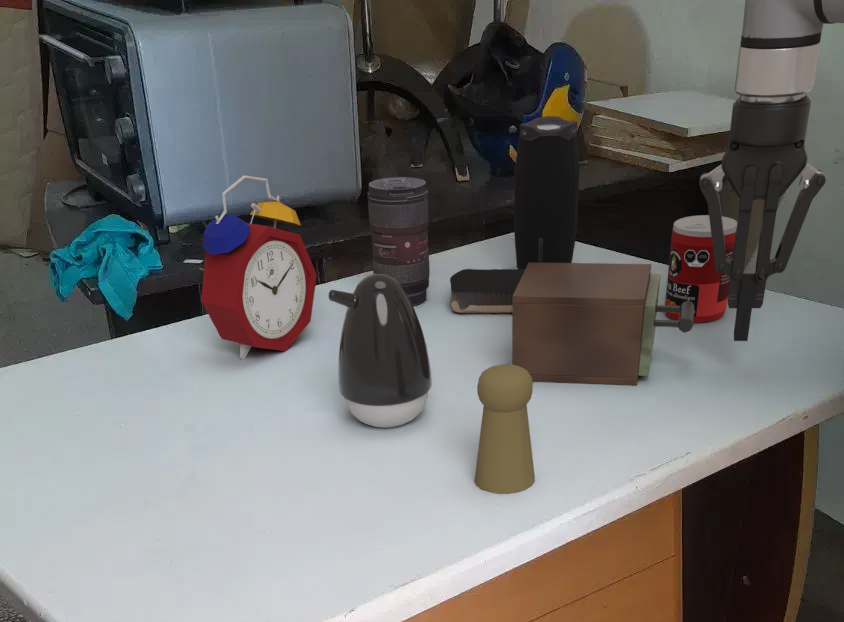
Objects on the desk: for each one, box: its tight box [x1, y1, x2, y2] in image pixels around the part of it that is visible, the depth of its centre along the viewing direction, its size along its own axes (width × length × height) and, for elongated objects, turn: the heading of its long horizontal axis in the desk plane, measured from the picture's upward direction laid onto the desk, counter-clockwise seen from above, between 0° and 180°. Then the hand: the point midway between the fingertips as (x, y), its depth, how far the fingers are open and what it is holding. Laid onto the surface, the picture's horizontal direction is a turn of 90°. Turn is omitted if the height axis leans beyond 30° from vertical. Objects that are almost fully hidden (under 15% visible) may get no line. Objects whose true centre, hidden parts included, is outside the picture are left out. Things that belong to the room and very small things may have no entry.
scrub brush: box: [449, 268, 525, 314], centre depth 139 cm, size 16×8×4 cm, turn 80°
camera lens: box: [367, 176, 431, 307], centre depth 139 cm, size 8×8×15 cm
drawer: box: [638, 273, 694, 377], centre depth 119 cm, size 18×11×8 cm, turn 77°
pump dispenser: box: [328, 274, 433, 429], centre depth 108 cm, size 10×10×15 cm
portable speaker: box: [513, 115, 581, 269], centre depth 143 cm, size 9×9×20 cm
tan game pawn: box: [473, 363, 536, 494], centre depth 97 cm, size 6×6×11 cm
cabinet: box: [511, 262, 652, 386], centre depth 120 cm, size 15×13×10 cm
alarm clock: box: [198, 174, 318, 361], centre depth 126 cm, size 15×9×20 cm, turn 143°
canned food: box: [664, 214, 737, 324], centre depth 130 cm, size 8×8×11 cm
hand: (740, 336), depth 117 cm, fingers closed
